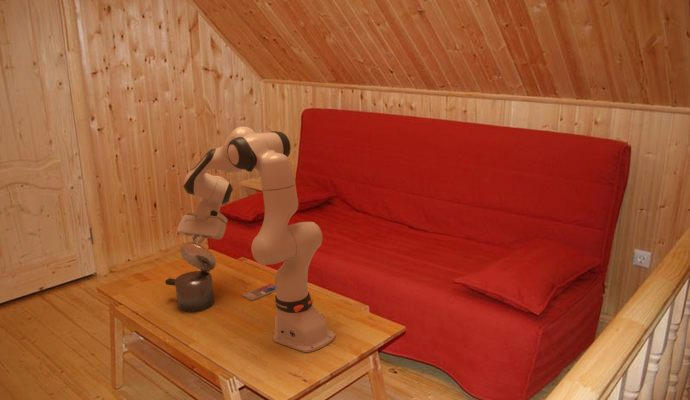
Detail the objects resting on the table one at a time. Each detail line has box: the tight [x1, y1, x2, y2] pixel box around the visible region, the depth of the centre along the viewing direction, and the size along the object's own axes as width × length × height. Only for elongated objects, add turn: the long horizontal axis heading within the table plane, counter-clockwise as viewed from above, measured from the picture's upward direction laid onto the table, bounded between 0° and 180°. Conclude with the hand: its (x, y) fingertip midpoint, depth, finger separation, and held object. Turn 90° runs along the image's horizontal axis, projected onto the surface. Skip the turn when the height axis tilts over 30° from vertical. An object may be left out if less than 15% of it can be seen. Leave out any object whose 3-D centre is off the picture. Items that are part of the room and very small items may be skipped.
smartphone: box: [242, 283, 276, 302], centre depth 228 cm, size 7×1×15 cm
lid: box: [179, 242, 217, 273], centre depth 221 cm, size 16×15×3 cm
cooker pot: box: [165, 270, 216, 313], centre depth 221 cm, size 14×20×11 cm
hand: (194, 246), depth 218 cm, fingers closed
